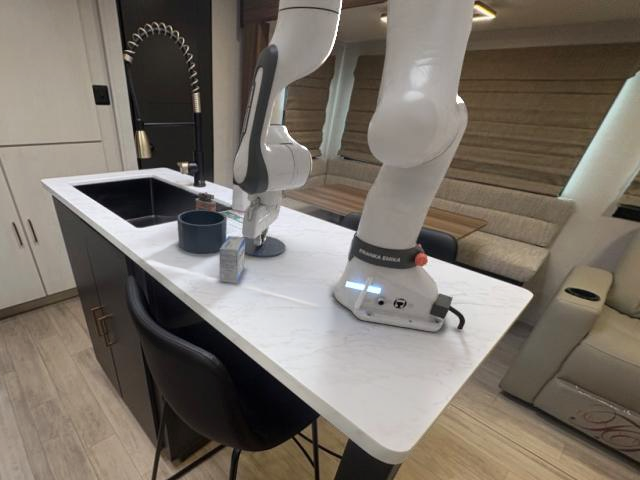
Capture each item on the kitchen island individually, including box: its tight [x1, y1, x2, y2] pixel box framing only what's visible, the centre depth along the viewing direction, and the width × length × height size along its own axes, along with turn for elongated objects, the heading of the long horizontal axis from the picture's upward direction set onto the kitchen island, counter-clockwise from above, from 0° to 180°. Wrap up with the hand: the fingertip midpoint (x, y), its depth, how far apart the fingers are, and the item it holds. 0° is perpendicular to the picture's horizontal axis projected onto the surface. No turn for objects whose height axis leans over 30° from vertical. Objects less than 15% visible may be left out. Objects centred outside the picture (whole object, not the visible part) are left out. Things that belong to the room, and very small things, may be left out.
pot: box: [176, 209, 228, 255], centre depth 87 cm, size 13×14×8 cm
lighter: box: [194, 191, 217, 212], centre depth 103 cm, size 8×3×10 cm, turn 55°
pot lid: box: [242, 234, 287, 258], centre depth 89 cm, size 15×15×4 cm
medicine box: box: [219, 235, 245, 285], centre depth 73 cm, size 8×4×9 cm, turn 168°
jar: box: [231, 176, 250, 213], centre depth 118 cm, size 9×8×12 cm
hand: (259, 242), depth 89 cm, fingers closed
